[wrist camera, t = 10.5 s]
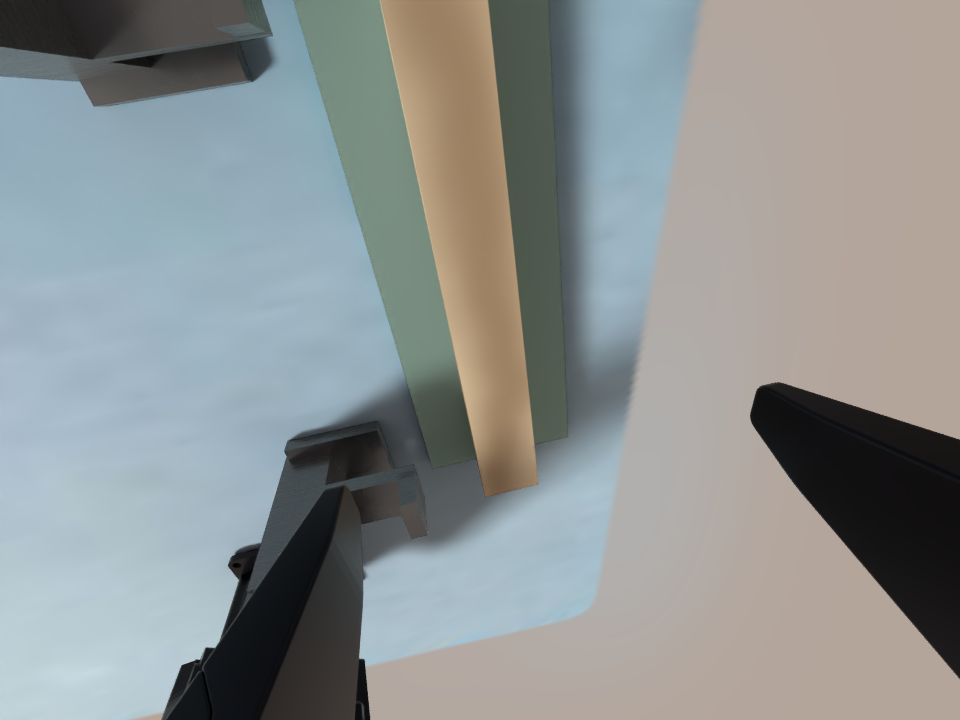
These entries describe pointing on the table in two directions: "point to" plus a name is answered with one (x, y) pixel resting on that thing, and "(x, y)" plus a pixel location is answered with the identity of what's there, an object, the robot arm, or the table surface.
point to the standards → (177, 70)
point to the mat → (400, 215)
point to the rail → (468, 219)
